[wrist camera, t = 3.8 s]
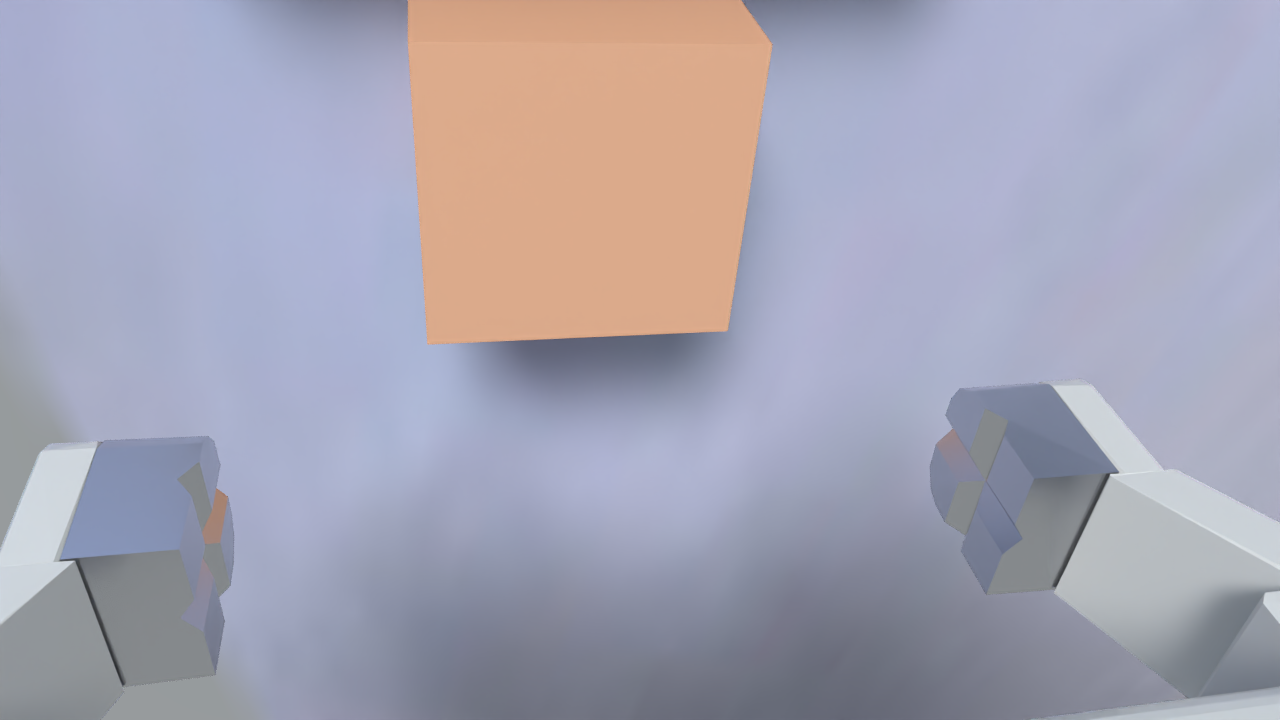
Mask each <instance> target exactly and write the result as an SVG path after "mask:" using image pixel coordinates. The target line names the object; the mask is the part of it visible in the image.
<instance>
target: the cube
mask: <svg viewBox="0 0 1280 720" xmlns="http://www.w3.org/2000/svg"><path fill="white" fill-rule="evenodd" d="M772 45H773V44H772V43H771V41H770V40H769V39H768V37H767V36H766V34H765V33H764V32H763V30H762V29H761V27H760V26H759V25H758V23H757V22H756V20H755V19H754V18H753V16H752V15H751V13H750V12H749V11H748V9H747V8H746V6H745V5H744V4H743V2H742V1H741V0H408V51H409V67H410V82H411V97H412V113H413V128H414V144H415V159H416V174H417V190H418V205H419V221H420V236H421V251H422V267H423V282H424V297H425V313H426V328H427V344H449V343H471V342H494V341H516V340H539V339H561V338H584V337H606V336H629V335H651V334H674V333H696V332H719V331H728V326H729V319H730V313H731V307H732V300H733V294H734V287H735V281H736V275H737V268H738V262H739V256H740V249H741V243H742V236H743V230H744V224H745V217H746V211H747V204H748V198H749V192H750V185H751V179H752V172H753V166H754V160H755V153H756V147H757V140H758V134H759V128H760V121H761V115H762V109H763V102H764V96H765V89H766V83H767V77H768V70H769V64H770V57H771V51H772Z"/></svg>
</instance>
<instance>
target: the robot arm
mask: <svg viewBox="0 0 1280 720" xmlns="http://www.w3.org/2000/svg"><path fill="white" fill-rule="evenodd" d="M946 417H947V419H948V421H949V423H950V424H951V426H952V428H953V429H952V430H951V431H950V432H949V433H948V434H947V435H946V436H944V437H943V438H942V439H941V440H940V441H939V442H938V443H937V444H936V446H935V450H934V453H933V457H932V460H931V464H930V481H931V491H932V494H933V498H934V501H935V504H936V507H937V509H938V510H939V512H940V514H941V516H942V518H943V520H944V522H946V523H947V524H949V525H950V526H952V527H953V528H955V529H956V530H958V531H959V532H961V533H963V534H964V535H965V538H964V541H963V545H962V549H961V552H962V553H963V555H964V557H965V559H966V560H967V562H968V564H969V566H970V567H971V569H972V571H973V573H974V574H975V576H976V578H977V580H978V581H979V583H980V585H981V587H982V588H983V590H984V592H985V594H986V595H989V594H1002V593H1015V592H1028V591H1041V590H1054V589H1055V592H1054V593H1055V594H1056V595H1057V596H1059V597H1060V598H1061V599H1062V600H1064V601H1065V602H1066V603H1067V604H1069V605H1070V606H1071V607H1073V608H1074V609H1075V610H1076V611H1078V612H1079V613H1080V614H1081V615H1083V616H1084V617H1085V618H1087V619H1088V620H1089V621H1090V622H1092V623H1093V624H1094V625H1095V626H1097V627H1098V628H1099V629H1101V630H1102V631H1103V632H1104V633H1106V634H1107V635H1108V636H1109V637H1111V638H1112V639H1113V640H1115V641H1116V642H1117V643H1118V644H1120V645H1121V646H1122V647H1123V648H1125V649H1126V650H1127V651H1129V652H1130V653H1131V654H1132V655H1134V656H1135V657H1136V658H1137V659H1139V660H1140V661H1141V662H1143V663H1144V664H1145V665H1146V666H1148V667H1149V668H1150V669H1151V670H1153V671H1154V672H1155V673H1157V674H1158V675H1159V676H1160V677H1162V678H1163V679H1164V680H1165V681H1167V682H1168V683H1169V684H1171V685H1172V686H1173V687H1174V688H1176V689H1177V690H1178V691H1179V692H1181V693H1182V694H1183V695H1185V696H1186V697H1187V698H1188V699H1180V700H1172V701H1164V702H1157V703H1149V704H1141V705H1134V706H1126V707H1118V708H1110V709H1103V710H1095V711H1087V712H1080V713H1072V714H1064V715H1056V716H1049V717H1041V718H1034V719H1026V720H1280V523H1279V522H1277V521H1275V520H1273V519H1271V518H1269V517H1267V516H1265V515H1263V514H1261V513H1259V512H1257V511H1256V510H1254V509H1252V508H1250V507H1248V506H1246V505H1244V504H1242V503H1240V502H1238V501H1236V500H1234V499H1232V498H1230V497H1228V496H1226V495H1225V494H1223V493H1221V492H1219V491H1217V490H1215V489H1213V488H1211V487H1209V486H1207V485H1205V484H1203V483H1201V482H1199V481H1197V480H1196V479H1194V478H1192V477H1190V476H1188V475H1186V474H1184V473H1182V472H1180V471H1178V470H1176V469H1172V470H1163V469H1162V467H1161V466H1160V465H1159V464H1158V463H1157V462H1156V460H1155V459H1154V458H1153V457H1152V456H1151V454H1150V453H1149V452H1148V451H1147V450H1146V448H1145V447H1144V446H1143V445H1142V444H1141V443H1140V441H1139V440H1138V439H1137V438H1136V437H1135V435H1134V434H1133V433H1132V432H1131V431H1130V430H1129V428H1128V427H1127V426H1126V425H1125V424H1124V422H1123V421H1122V420H1121V419H1120V418H1119V416H1118V415H1117V414H1116V413H1115V412H1114V411H1113V409H1112V408H1111V407H1110V406H1109V405H1108V403H1107V402H1106V401H1105V400H1104V399H1103V397H1102V396H1101V395H1100V394H1099V393H1098V392H1097V390H1096V389H1095V388H1094V387H1093V386H1092V385H1091V384H1090V383H1088V382H1086V381H1084V380H1082V379H1069V380H1057V381H1045V382H1039V383H1029V384H1015V385H1001V386H987V387H973V388H960V389H959V390H958V391H957V392H956V393H955V395H954V396H953V397H952V398H951V401H950V404H949V406H948V409H947V412H946ZM219 471H220V461H219V458H218V454H217V450H216V447H215V443H214V441H213V440H212V439H211V438H210V437H209V436H198V437H174V438H150V439H127V440H105V441H104V442H77V443H54V444H49V445H48V446H47V447H46V448H44V449H43V450H42V451H41V452H40V453H39V455H38V457H37V459H36V462H35V464H34V467H33V469H32V472H31V474H30V477H29V479H28V482H27V484H26V487H25V489H24V491H23V494H22V496H21V499H20V501H19V504H18V506H17V509H16V511H15V514H14V516H13V519H12V521H11V524H10V526H9V528H8V531H7V533H6V536H5V539H4V541H3V543H2V546H1V548H0V720H101V719H102V718H103V717H104V716H105V715H106V713H107V712H108V711H109V710H110V708H111V707H112V706H113V705H114V704H115V703H116V701H117V700H118V699H119V698H120V697H121V695H122V694H123V693H124V690H123V687H128V686H136V685H144V684H152V683H159V682H167V681H175V680H182V679H190V678H198V677H205V676H213V675H216V669H217V664H218V658H219V652H220V646H221V640H222V634H223V628H224V622H225V620H224V616H223V612H222V608H221V604H220V600H219V597H220V596H221V595H222V594H223V593H224V592H225V591H226V590H227V589H228V588H229V587H230V586H231V579H232V572H233V565H234V529H233V520H232V513H231V508H230V504H229V499H228V496H226V495H225V494H224V493H222V492H221V491H220V490H218V489H217V488H216V487H217V481H218V476H219Z"/></svg>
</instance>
